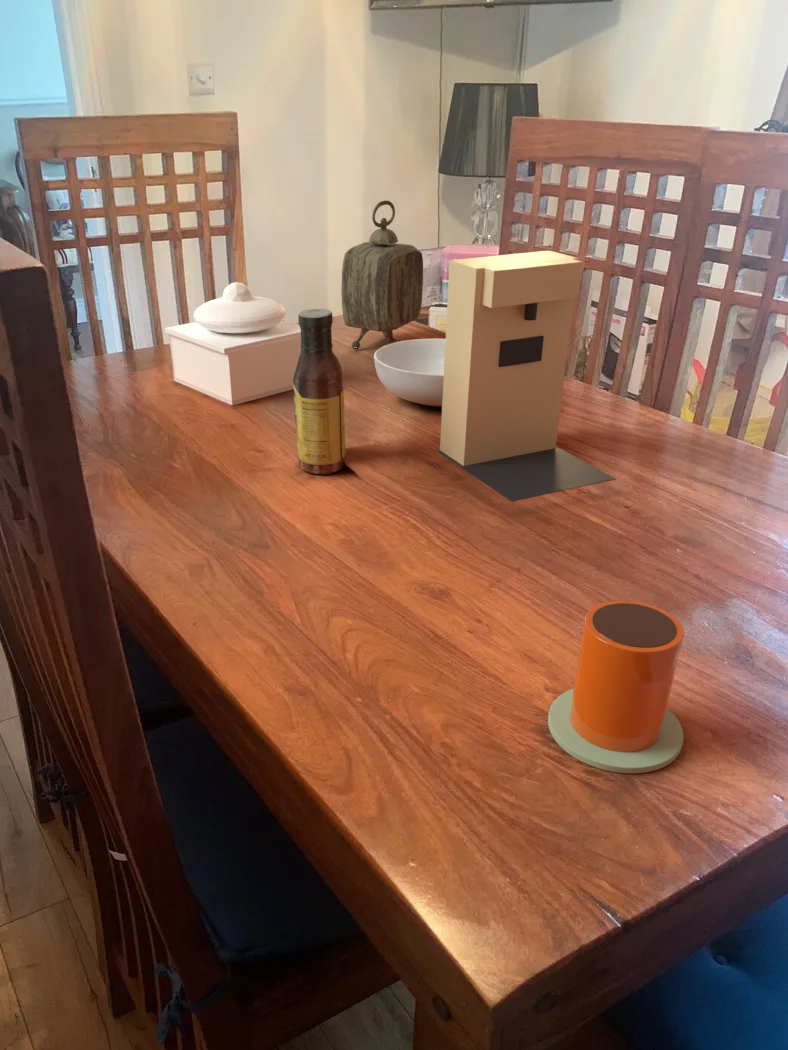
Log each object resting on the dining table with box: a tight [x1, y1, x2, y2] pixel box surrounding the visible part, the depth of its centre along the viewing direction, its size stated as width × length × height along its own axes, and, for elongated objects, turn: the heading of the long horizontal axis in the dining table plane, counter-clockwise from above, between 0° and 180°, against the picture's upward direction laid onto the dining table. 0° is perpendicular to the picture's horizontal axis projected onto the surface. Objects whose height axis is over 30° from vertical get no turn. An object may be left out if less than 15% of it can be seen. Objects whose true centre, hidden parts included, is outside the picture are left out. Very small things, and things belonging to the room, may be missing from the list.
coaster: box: [547, 688, 685, 775], centre depth 67 cm, size 10×10×1 cm
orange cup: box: [570, 600, 685, 752], centre depth 64 cm, size 7×7×9 cm
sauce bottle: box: [292, 308, 347, 476], centre depth 107 cm, size 7×6×20 cm
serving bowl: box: [373, 337, 446, 408], centre depth 134 cm, size 21×21×7 cm
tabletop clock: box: [341, 200, 424, 350], centre depth 157 cm, size 14×9×25 cm, turn 145°
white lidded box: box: [164, 281, 301, 406], centre depth 140 cm, size 18×18×16 cm
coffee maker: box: [436, 250, 616, 503], centre depth 103 cm, size 18×15×25 cm
